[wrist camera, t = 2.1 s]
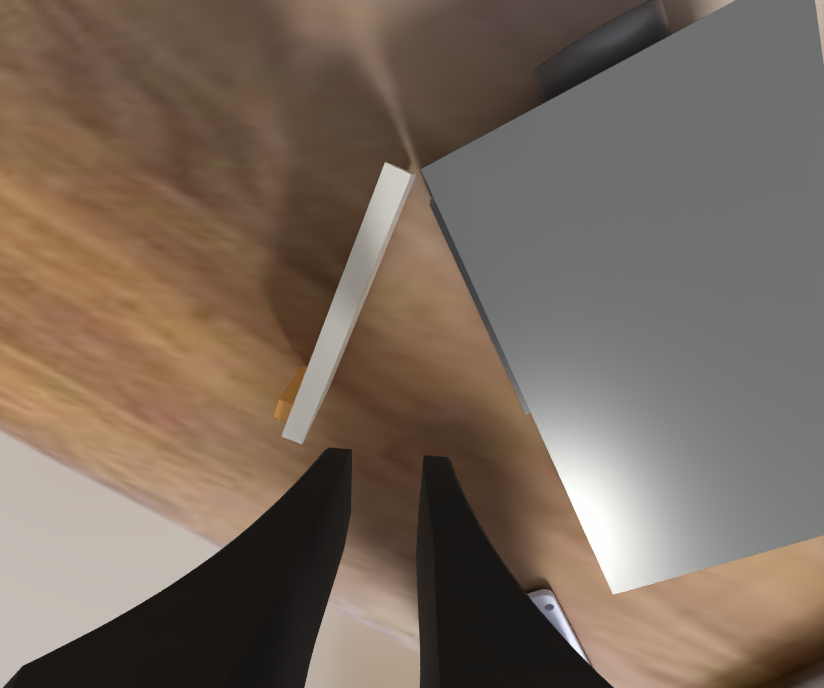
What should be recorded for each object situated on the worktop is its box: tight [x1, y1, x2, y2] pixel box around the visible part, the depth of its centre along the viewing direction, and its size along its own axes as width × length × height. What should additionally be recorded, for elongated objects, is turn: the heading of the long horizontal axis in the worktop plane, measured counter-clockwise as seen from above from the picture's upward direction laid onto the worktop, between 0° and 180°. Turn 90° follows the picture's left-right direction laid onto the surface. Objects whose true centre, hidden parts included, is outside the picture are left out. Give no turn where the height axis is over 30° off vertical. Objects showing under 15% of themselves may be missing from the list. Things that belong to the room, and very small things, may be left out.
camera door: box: [273, 162, 416, 444], centre depth 16 cm, size 10×1×4 cm, turn 156°
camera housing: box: [421, 0, 824, 595], centre depth 16 cm, size 19×10×4 cm, turn 26°
